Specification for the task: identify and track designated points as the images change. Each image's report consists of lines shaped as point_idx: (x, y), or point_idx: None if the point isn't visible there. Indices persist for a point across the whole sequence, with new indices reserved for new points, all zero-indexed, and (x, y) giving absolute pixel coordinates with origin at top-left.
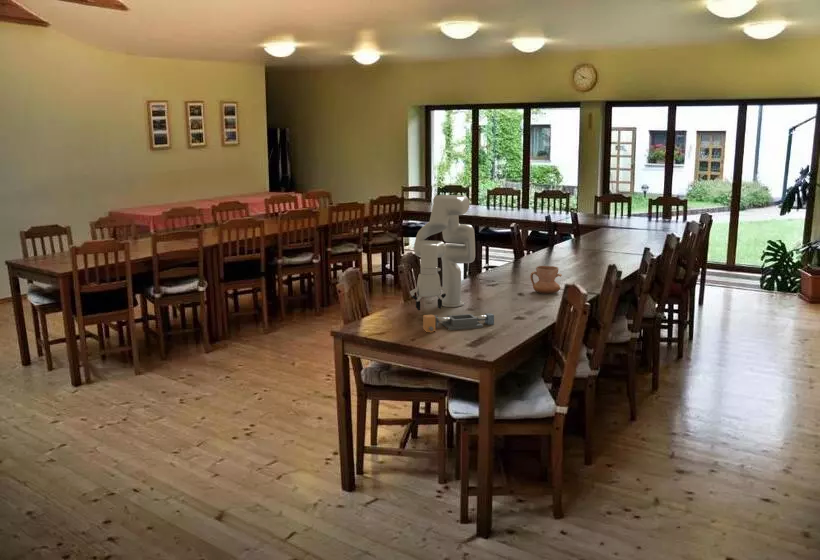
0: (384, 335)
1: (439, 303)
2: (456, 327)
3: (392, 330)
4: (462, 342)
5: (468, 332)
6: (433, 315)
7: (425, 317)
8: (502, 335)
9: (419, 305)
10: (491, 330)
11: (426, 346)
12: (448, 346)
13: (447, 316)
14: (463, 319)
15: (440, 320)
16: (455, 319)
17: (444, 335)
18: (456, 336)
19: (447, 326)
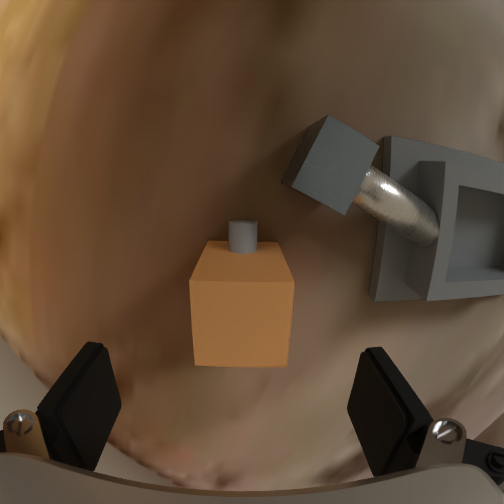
0: (4, 275)
1: (364, 451)
2: (413, 299)
3: (35, 194)
4: (322, 457)
5: (426, 350)
6: (289, 320)
7: (194, 353)
8: (482, 394)
9: (98, 441)
10: (501, 334)
11: (169, 461)
12: (251, 477)
13: (441, 161)
14: (477, 296)
15: (367, 212)
16: (445, 287)
17: (297, 376)
18: (345, 398)
19: (380, 262)
